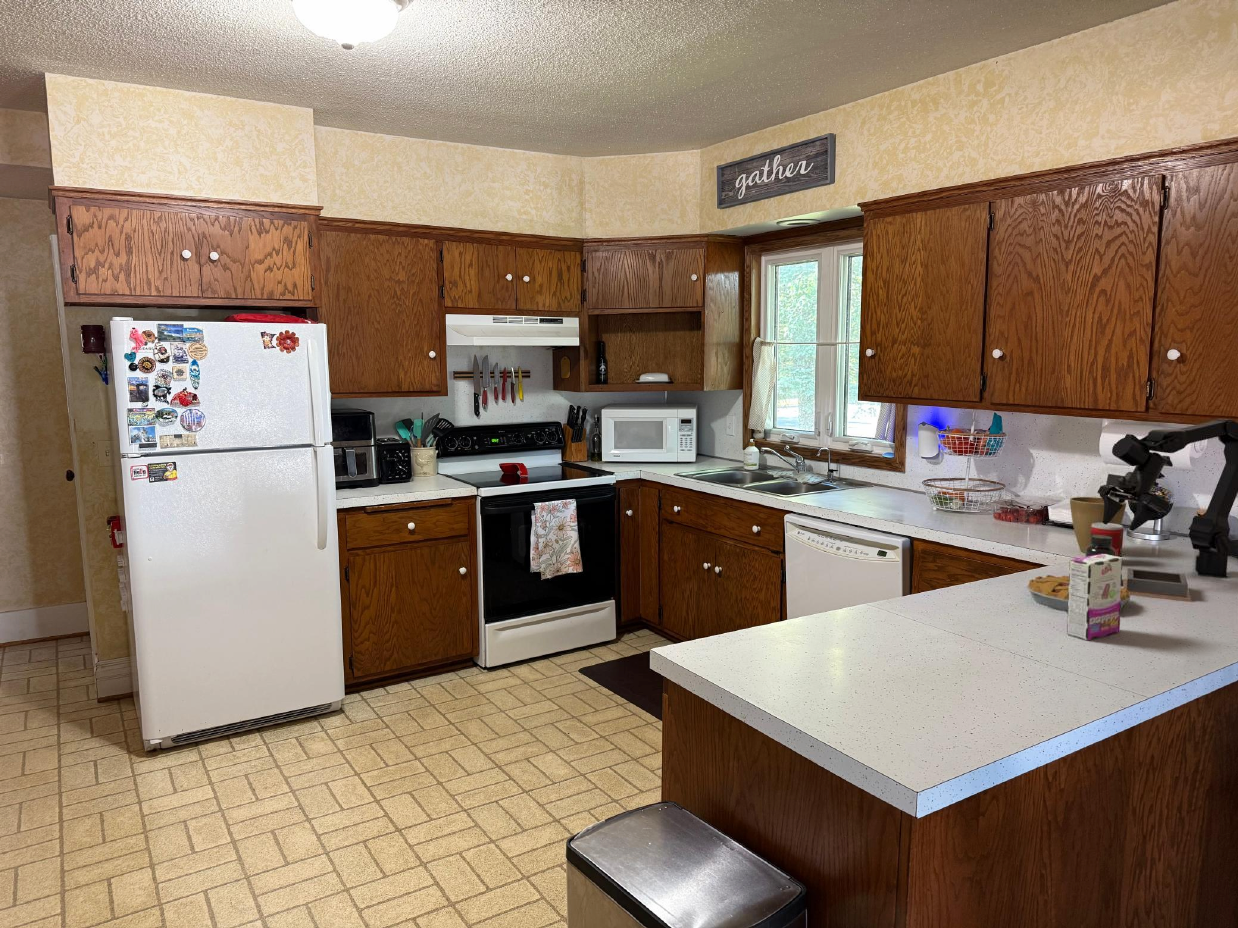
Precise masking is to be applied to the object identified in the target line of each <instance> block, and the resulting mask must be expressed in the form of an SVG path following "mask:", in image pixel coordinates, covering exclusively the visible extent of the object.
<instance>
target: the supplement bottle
mask: <svg viewBox="0 0 1238 928" xmlns="http://www.w3.org/2000/svg"><path fill="white" fill-rule="evenodd" d="M1090 543H1091V545H1090V546H1088V547H1087V548H1086V553H1085V556H1084V557H1088V556H1093V555H1099V554H1108V555H1113V556H1116V552H1115V550H1114V548H1112V547H1111V545H1112V537H1109V536H1104V535H1093V536H1091V541H1090Z"/></svg>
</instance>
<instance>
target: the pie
mask: <svg viewBox="0 0 1238 928" xmlns="http://www.w3.org/2000/svg"><path fill="white" fill-rule="evenodd" d="M1026 589H1027V590H1028V591H1029V592H1030V594H1031V596H1032V597H1031V598H1032V600H1034V602H1035V603H1036V604H1038V603H1039V604H1038V605H1041V606H1043V605H1044V607H1046V606H1047V608H1050V609H1055V610H1060V611H1064V612H1068V599H1069V575H1062V576H1055V575H1051V574H1047V575H1046V576H1045V577H1043V576H1036V577H1035V578H1034V579H1029V582H1028V584H1027V586H1026ZM1130 598H1131V595H1130V594H1129V593H1128V590H1127V589H1125V588H1123V587H1122V588H1121V609H1120V611H1121V610H1122V608H1124V606H1125V604H1126V603H1127V602H1129V601H1130V600H1131V599H1130Z"/></svg>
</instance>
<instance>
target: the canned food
mask: <svg viewBox="0 0 1238 928" xmlns="http://www.w3.org/2000/svg"><path fill="white" fill-rule="evenodd" d="M1093 535H1104V536H1109V537H1112V545H1111V547H1112V548H1114V550H1115V552H1116V556H1117V557H1122V558H1123V543H1124V526H1123V525H1122V524H1121V525H1119V524H1113V523H1108V524H1104V523H1093V524H1092V526H1091V536H1093ZM1090 541H1091V540H1090ZM1090 545H1091V543H1090Z"/></svg>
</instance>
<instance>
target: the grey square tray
mask: <svg viewBox="0 0 1238 928" xmlns="http://www.w3.org/2000/svg"><path fill="white" fill-rule="evenodd" d="M1126 574H1127V575H1126V578H1122V588H1125V589H1127V590H1128V593H1129V594H1130V596H1138V597H1147V598H1155V599H1165V600H1174V601H1184V602H1192V596H1191V593H1190V590H1189V585H1188V581H1187V577H1186V574H1185V573H1178V572H1169V571H1168V572H1167V571H1157V570H1150V569H1149V570H1147V569H1139V568H1138V569H1137V568H1128V567H1127V573H1126Z"/></svg>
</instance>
